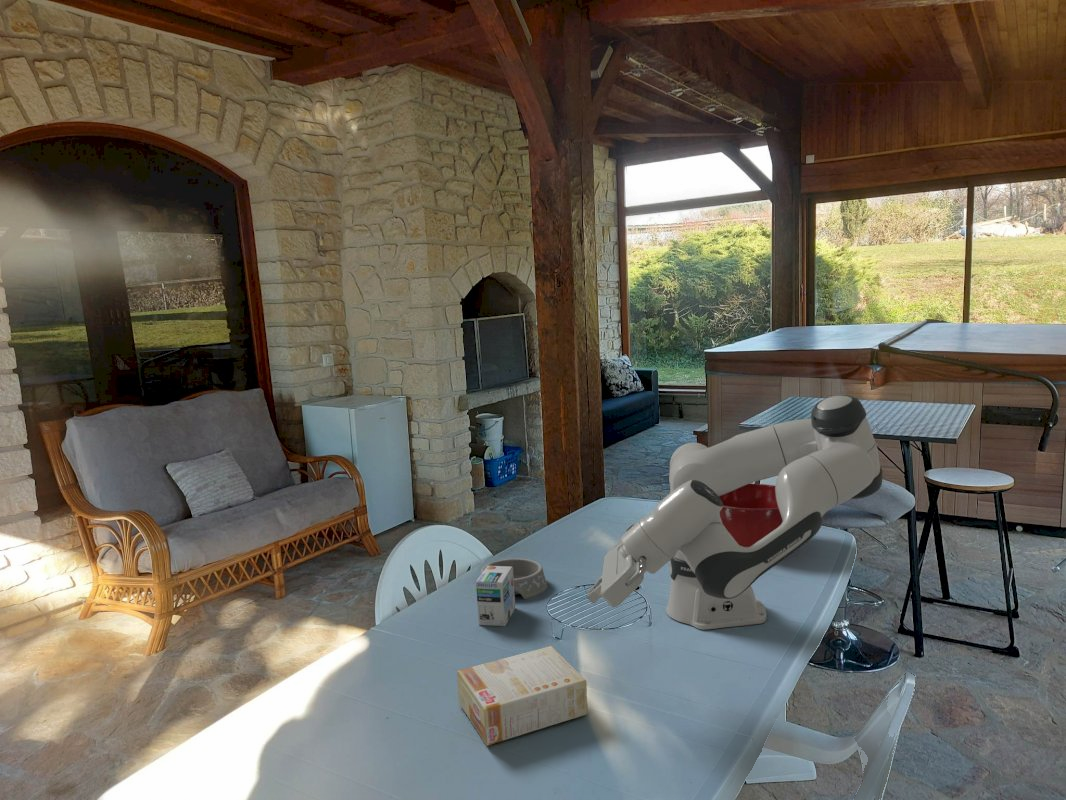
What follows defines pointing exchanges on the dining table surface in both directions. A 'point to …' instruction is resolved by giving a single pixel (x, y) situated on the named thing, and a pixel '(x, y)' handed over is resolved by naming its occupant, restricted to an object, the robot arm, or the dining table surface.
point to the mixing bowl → (750, 513)
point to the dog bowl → (524, 576)
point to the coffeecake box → (521, 694)
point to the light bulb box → (495, 595)
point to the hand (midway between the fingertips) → (590, 597)
